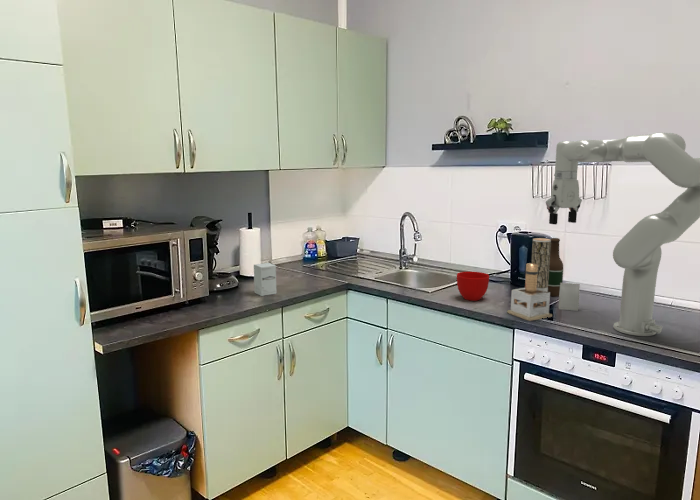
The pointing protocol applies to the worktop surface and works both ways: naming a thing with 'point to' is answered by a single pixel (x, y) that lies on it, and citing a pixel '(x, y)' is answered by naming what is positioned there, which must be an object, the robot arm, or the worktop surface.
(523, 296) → the collar stand
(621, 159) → the robot arm
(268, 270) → the supplement box
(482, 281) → the ceramic cup
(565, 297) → the light gray block
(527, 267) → the wooden post
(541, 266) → the wooden log
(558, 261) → the beer bottle
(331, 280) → the worktop surface
